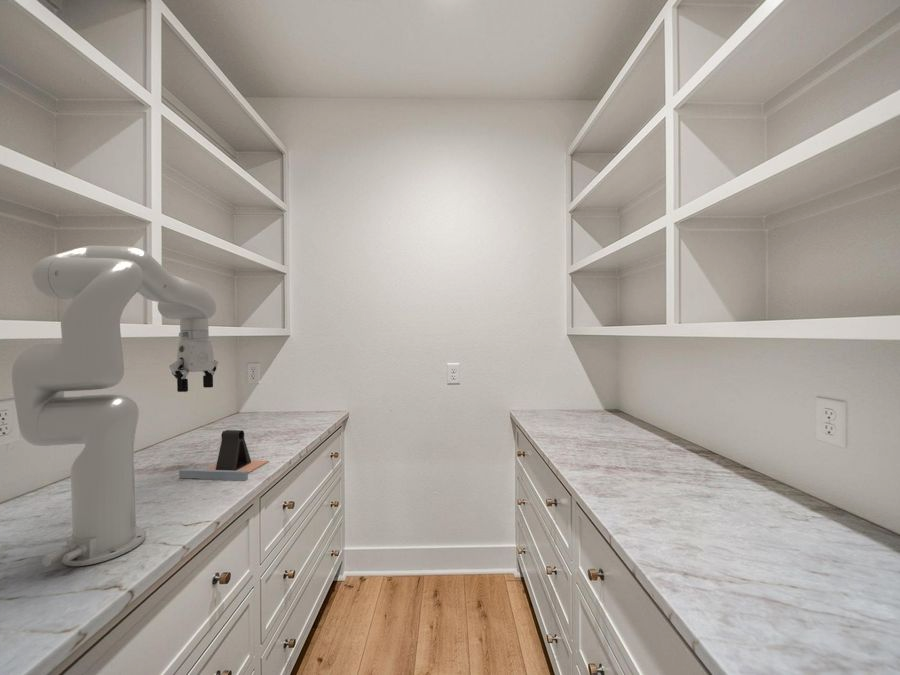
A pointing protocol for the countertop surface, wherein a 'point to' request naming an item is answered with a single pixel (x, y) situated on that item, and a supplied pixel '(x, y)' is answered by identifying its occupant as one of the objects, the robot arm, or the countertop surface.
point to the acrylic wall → (214, 474)
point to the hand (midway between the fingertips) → (196, 389)
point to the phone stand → (232, 451)
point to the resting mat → (247, 466)
